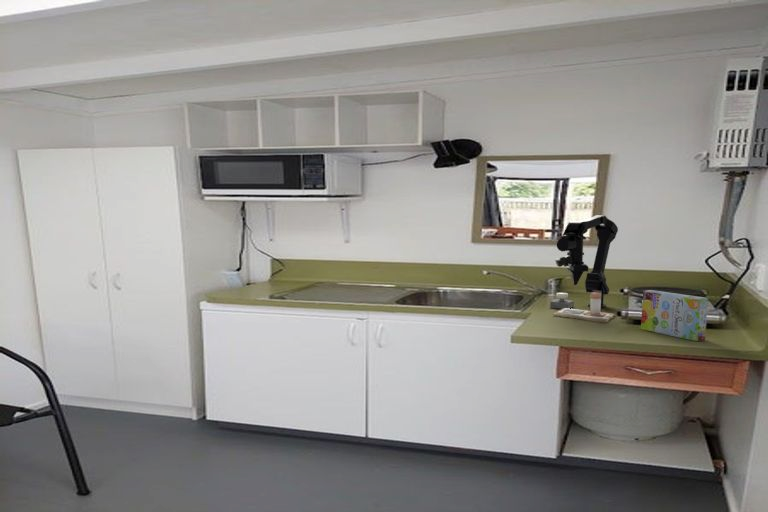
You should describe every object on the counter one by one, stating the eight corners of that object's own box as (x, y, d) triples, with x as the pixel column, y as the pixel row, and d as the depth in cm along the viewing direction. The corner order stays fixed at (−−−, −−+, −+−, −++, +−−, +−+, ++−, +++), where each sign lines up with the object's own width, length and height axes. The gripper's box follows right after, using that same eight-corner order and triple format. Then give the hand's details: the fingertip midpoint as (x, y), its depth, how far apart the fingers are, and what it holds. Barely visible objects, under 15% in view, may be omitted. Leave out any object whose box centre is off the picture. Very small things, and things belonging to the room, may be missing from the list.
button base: (556, 305, 238) (556, 298, 238) (573, 307, 234) (573, 300, 233) (550, 307, 232) (550, 301, 232) (567, 309, 227) (568, 303, 227)
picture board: (564, 310, 227) (564, 307, 227) (614, 316, 214) (614, 313, 214) (553, 315, 215) (553, 312, 215) (605, 322, 203) (605, 319, 202)
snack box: (706, 340, 176) (708, 297, 175) (697, 342, 174) (699, 299, 172) (648, 327, 195) (650, 288, 193) (639, 329, 192) (641, 290, 190)
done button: (558, 302, 236) (558, 292, 236) (569, 304, 233) (569, 293, 233) (554, 304, 232) (554, 293, 232) (565, 305, 229) (566, 294, 229)
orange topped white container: (591, 312, 215) (592, 291, 214) (601, 314, 212) (602, 292, 212) (588, 314, 212) (589, 293, 211) (599, 315, 209) (599, 294, 208)
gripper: (552, 248, 232) (551, 281, 234) (561, 252, 214) (561, 288, 215) (577, 247, 231) (576, 281, 233) (589, 252, 213) (588, 288, 214)
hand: (575, 284), depth 224 cm, fingers closed
